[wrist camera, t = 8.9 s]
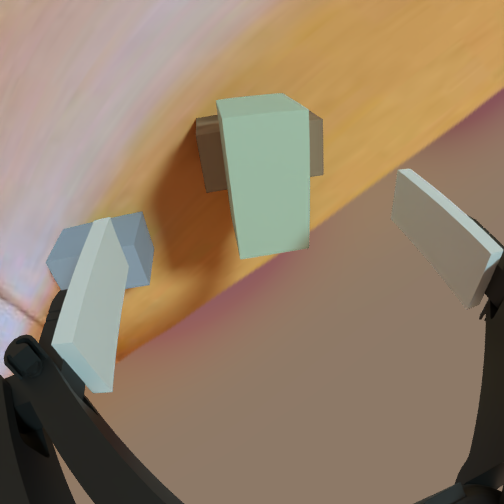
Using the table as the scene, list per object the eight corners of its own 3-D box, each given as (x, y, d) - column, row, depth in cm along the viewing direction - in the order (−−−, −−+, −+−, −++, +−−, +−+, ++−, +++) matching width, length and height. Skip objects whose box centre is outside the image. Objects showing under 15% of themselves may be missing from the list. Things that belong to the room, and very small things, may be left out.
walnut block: (204, 165, 25) (206, 192, 21) (196, 118, 22) (195, 135, 19) (302, 151, 25) (323, 175, 21) (300, 104, 23) (322, 119, 19)
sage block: (287, 206, 23) (309, 248, 19) (231, 214, 22) (240, 259, 18) (282, 93, 18) (308, 109, 14) (215, 100, 17) (222, 118, 13)
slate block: (79, 262, 28) (66, 298, 24) (63, 228, 26) (45, 262, 22) (154, 248, 29) (149, 284, 25) (142, 210, 26) (133, 244, 22)
